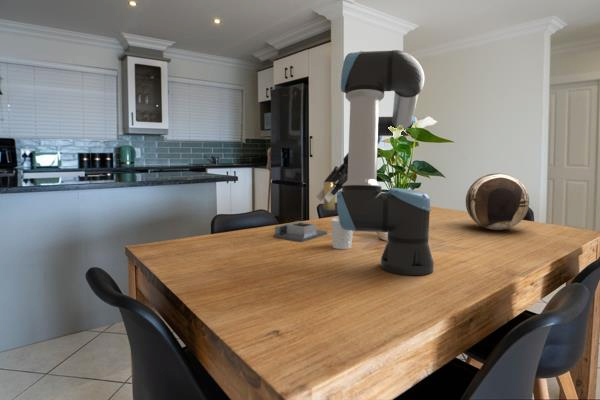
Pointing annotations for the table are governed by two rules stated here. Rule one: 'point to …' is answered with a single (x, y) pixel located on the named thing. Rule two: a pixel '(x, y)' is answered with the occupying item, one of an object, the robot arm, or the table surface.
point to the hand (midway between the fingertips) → (322, 199)
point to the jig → (298, 231)
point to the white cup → (340, 235)
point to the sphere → (497, 201)
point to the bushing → (331, 204)
